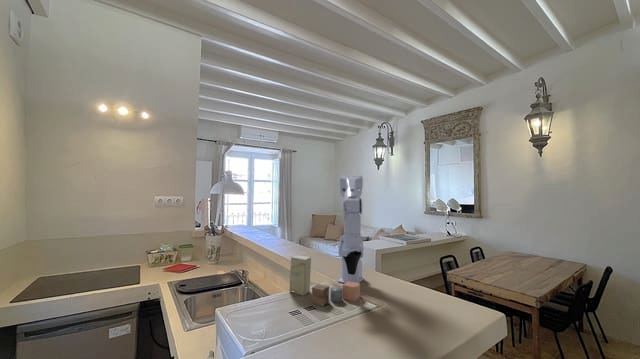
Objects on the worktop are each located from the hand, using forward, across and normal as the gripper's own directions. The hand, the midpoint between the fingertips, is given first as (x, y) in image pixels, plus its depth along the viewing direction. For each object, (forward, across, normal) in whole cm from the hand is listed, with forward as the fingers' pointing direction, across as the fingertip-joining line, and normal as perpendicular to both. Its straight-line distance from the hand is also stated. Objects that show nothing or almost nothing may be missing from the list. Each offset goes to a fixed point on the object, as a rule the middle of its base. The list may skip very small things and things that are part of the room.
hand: (351, 273), depth 84 cm
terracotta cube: (+8, 0, 0) cm, 8 cm away
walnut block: (+8, -9, +7) cm, 14 cm away
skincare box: (+8, -5, +18) cm, 20 cm away
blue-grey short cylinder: (+8, -4, +4) cm, 10 cm away
